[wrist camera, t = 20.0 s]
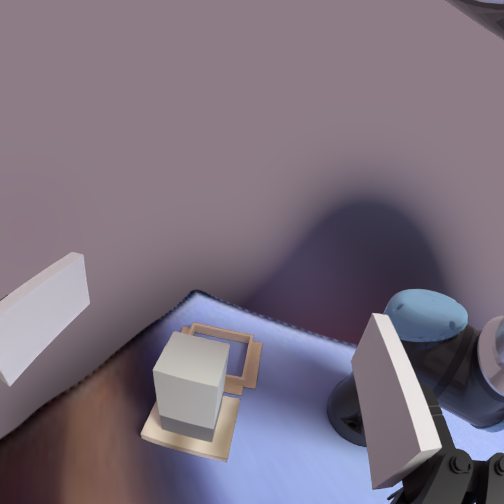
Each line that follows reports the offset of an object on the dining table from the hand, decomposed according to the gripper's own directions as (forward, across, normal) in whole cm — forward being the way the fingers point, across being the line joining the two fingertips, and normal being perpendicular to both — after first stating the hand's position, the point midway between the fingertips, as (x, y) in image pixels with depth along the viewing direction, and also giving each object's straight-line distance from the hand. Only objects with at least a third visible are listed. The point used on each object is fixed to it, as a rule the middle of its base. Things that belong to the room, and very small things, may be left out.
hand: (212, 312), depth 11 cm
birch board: (+12, -4, -30) cm, 33 cm away
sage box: (+12, -4, -28) cm, 31 cm away
